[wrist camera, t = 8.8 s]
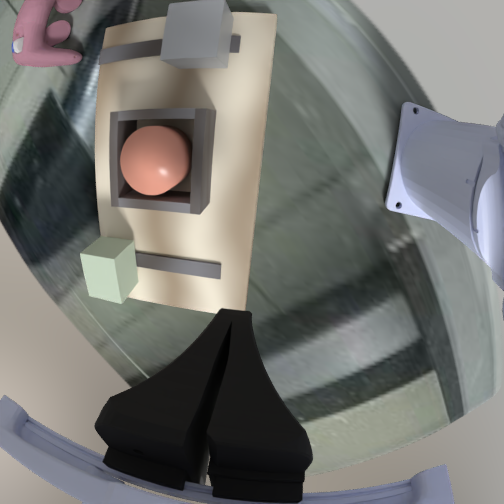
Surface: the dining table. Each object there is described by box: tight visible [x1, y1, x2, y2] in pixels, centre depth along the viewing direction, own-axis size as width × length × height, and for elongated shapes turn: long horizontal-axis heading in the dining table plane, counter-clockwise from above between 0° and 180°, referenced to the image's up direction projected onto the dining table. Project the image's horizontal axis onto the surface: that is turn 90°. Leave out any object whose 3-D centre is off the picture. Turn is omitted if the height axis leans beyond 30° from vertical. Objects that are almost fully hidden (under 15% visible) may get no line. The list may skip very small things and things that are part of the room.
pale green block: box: [80, 236, 139, 304], centre depth 19 cm, size 3×4×3 cm
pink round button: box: [120, 125, 193, 195], centre depth 15 cm, size 4×4×2 cm
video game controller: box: [12, 0, 82, 67], centre depth 10 cm, size 10×5×7 cm
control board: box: [95, 12, 277, 313], centre depth 17 cm, size 12×22×4 cm, turn 175°
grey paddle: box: [160, 0, 234, 69], centre depth 11 cm, size 3×4×3 cm
